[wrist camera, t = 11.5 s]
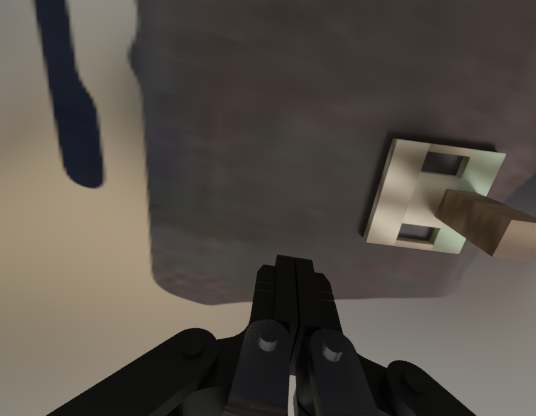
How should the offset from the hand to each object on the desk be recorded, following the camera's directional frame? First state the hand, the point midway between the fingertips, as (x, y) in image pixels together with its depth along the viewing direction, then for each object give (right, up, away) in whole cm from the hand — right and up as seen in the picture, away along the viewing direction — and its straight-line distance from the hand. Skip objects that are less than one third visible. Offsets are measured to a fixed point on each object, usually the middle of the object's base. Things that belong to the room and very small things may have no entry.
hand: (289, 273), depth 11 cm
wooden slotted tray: (+23, +4, +28) cm, 36 cm away
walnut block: (+27, +3, +26) cm, 38 cm away
